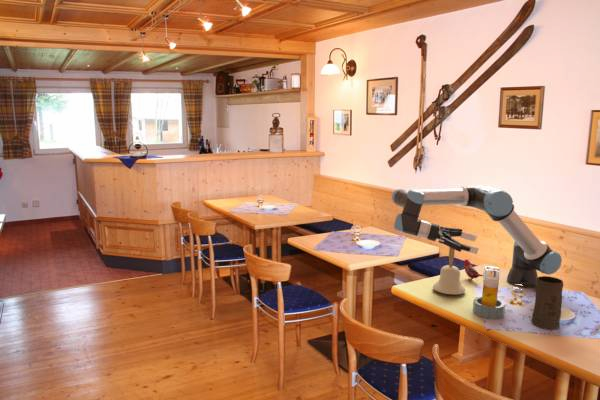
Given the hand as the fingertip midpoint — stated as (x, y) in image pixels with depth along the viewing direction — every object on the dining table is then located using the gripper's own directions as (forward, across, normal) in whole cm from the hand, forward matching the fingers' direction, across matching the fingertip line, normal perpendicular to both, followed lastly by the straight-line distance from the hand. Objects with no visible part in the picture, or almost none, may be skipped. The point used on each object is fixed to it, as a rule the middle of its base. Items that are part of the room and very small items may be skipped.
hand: (476, 244), depth 217 cm
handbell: (-2, -13, -33) cm, 36 cm away
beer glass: (+15, -9, -29) cm, 34 cm away
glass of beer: (+13, +8, -26) cm, 29 cm away
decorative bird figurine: (+10, -32, -33) cm, 48 cm away
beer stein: (+33, +11, -22) cm, 41 cm away
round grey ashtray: (+13, +8, -26) cm, 30 cm away
